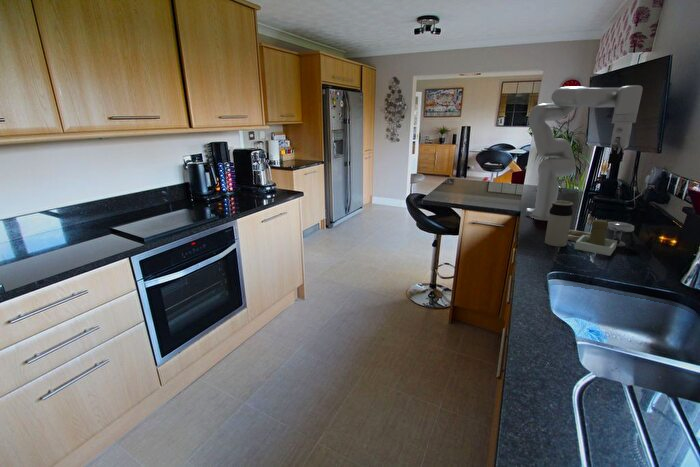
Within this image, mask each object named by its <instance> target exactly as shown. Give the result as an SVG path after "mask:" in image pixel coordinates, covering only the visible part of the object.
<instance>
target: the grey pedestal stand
mask: <svg viewBox="0 0 700 467" xmlns="http://www.w3.org/2000/svg"><path fill="white" fill-rule="evenodd" d="M607 222H608V227H607V228H606V230H611V231H613V232H614V233H613V238H612V240H616V241H617V245H616V248H618V247H619V248H620V247H621V248H623V247H625V246H626V242H624V241H621V239H622V235H623V233H631V232H634V230H635V225H633V224H631V223H627V222H622V221H607Z"/></svg>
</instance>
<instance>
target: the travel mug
mask: <svg viewBox="0 0 700 467" xmlns="http://www.w3.org/2000/svg"><path fill="white" fill-rule="evenodd" d="M573 205H574V202H572V201H570V200H569V201H568V200H561V199H559V200H558V199H557V201H552V207H551V208H550V212H549V218H548V221H547V226H546V232H545V238H544V243H545V244H547V245H548V246H551V247H559V248H561V247H562V248H563V247H566V246H567V244H568V241H569V240H568V235H569V229H570V228H571V225H572V224H571V222H572V217H573V213H574V212H573ZM570 230H571V229H570Z"/></svg>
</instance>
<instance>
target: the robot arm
mask: <svg viewBox="0 0 700 467" xmlns="http://www.w3.org/2000/svg"><path fill="white" fill-rule="evenodd" d="M642 94H643V86H642V85H638V84H637V85H636V84H634V85H625V86H624V85H623V86H621V87H589V86H561V87H558V88H557V89H555V90H554V91H553V93H552V94H551V96H550V97H551V98H550V99H551V102H552V103H541V104H540V103H539V104H536V105H534V106H533V107H532V108H531V110H530V111H529V114H528V120H527V121H528V126H529V128H530V130H531V134H532V136H533V139H534V140H533V141H534V143H535V148H536V151H537V155H538V156H539V157H541V158H546V159H543V160H541V161H540V163H539V164H538V168H537V169H538V170H537V171H538V182H537V191H536V197H535V206H534V208H526V209H525V212H526V213H530V215H529V216H530V218H532V219H533V218H534V220H538V221H546V222H548V218H549V212H550V208H551V207H552V201H557V200H558V195H559V188H560V187H559V186H560V183H559V181H558V177H559V178H560V177H567V176H571V175H572V174H573V173H574V172H575V170H576V160H575V156H574V153H573V152H574V151H573V149H572V146H571V143H570V141H569V140H567V139H566V138H559V137H558V138H557V137H554V135H553V130H552V128H551V127H550V125H549V124H548V123H547V122H549V121H550V122H551V121H553V122H554V121H555V122H556V121H561V120H563V119H564V118H565V119H566V117H567V116H568V115H570V114H571V113H572V112H573V111H574V110H576V108H582V107H583V108H614V109H613V114H612V119H611V124H613V125H614V126H613V129H612V134H611V135H612V136H611V140H610V146H609V147H610V148H611V149H610V151H609V152H610V153H609V155H608V159H607V164H608V165H617V164H619V163H621V162H623V158H624V154H625V149H627V148H628V147H629V145H630V139H631V134H632V128H633V124H636V122H637V117H638V112H639V109H640V108H639V107H640V103H641V99H642Z"/></svg>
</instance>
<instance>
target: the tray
mask: <svg viewBox="0 0 700 467" xmlns="http://www.w3.org/2000/svg"><path fill="white" fill-rule="evenodd" d="M579 237H580V238H579V239H578V240H577V241H575V244H574V249H575V250H580V251H584V252H589V253H594V254H599V255H604V256H612V254H613V253H614V251H615V249H616V248H617V246H616V245H617V241H616V240H613V239H609V238H605V246H601V245H595V244H590V243H587V242H586V241H585V239H586V240H587V241H588V240H589V237H590V236H587V235H582V236H579Z"/></svg>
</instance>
